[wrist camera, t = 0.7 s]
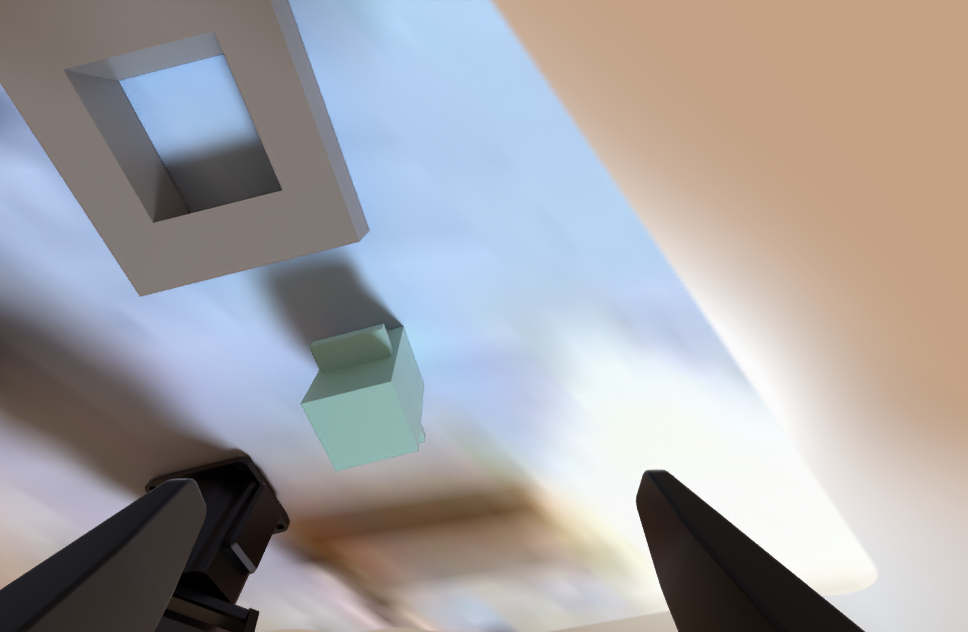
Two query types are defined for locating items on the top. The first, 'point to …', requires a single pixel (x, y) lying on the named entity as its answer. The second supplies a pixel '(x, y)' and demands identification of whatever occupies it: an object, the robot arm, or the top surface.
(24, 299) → the top surface
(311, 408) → the block
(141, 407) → the top surface
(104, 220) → the pocket plate
